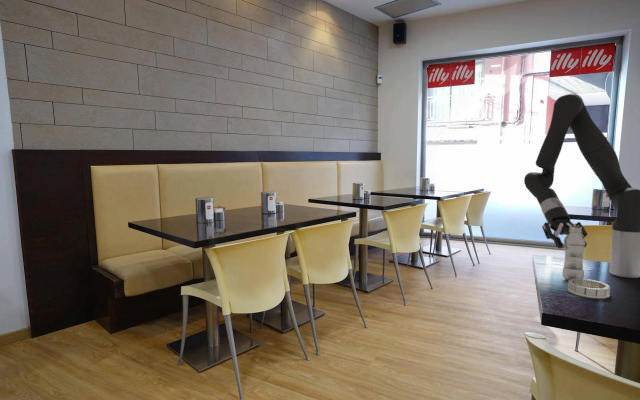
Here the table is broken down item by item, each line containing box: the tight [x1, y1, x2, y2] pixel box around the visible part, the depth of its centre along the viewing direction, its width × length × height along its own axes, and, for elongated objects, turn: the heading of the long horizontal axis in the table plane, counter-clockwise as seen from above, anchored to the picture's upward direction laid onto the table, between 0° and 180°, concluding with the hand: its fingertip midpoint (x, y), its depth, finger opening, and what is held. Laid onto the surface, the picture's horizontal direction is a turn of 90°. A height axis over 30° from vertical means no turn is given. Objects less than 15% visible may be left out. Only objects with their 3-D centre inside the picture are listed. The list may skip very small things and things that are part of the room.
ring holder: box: [567, 278, 611, 300], centre depth 125 cm, size 11×11×3 cm
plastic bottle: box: [561, 226, 586, 281], centre depth 137 cm, size 6×7×20 cm
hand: (572, 247), depth 137 cm, fingers open, 8 cm apart
